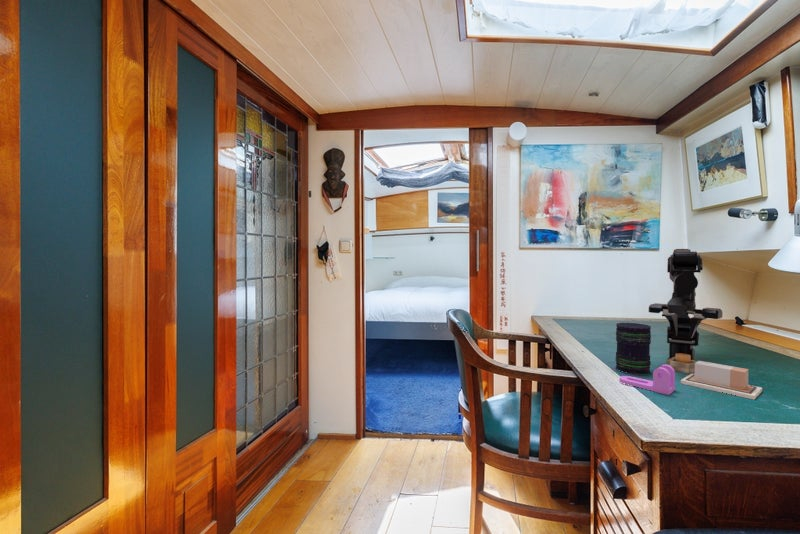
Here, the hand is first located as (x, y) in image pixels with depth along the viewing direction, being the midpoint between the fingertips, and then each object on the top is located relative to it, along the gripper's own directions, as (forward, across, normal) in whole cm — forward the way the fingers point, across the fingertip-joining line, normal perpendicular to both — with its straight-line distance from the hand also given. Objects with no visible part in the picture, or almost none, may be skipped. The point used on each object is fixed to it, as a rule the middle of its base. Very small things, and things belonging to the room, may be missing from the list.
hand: (683, 336), depth 123 cm
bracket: (+11, -2, -28) cm, 30 cm away
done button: (+9, 0, 0) cm, 9 cm away
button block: (+11, 0, 0) cm, 11 cm away
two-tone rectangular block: (+10, +12, -12) cm, 19 cm away
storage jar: (+11, -10, -14) cm, 20 cm away
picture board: (+11, +12, -12) cm, 20 cm away
